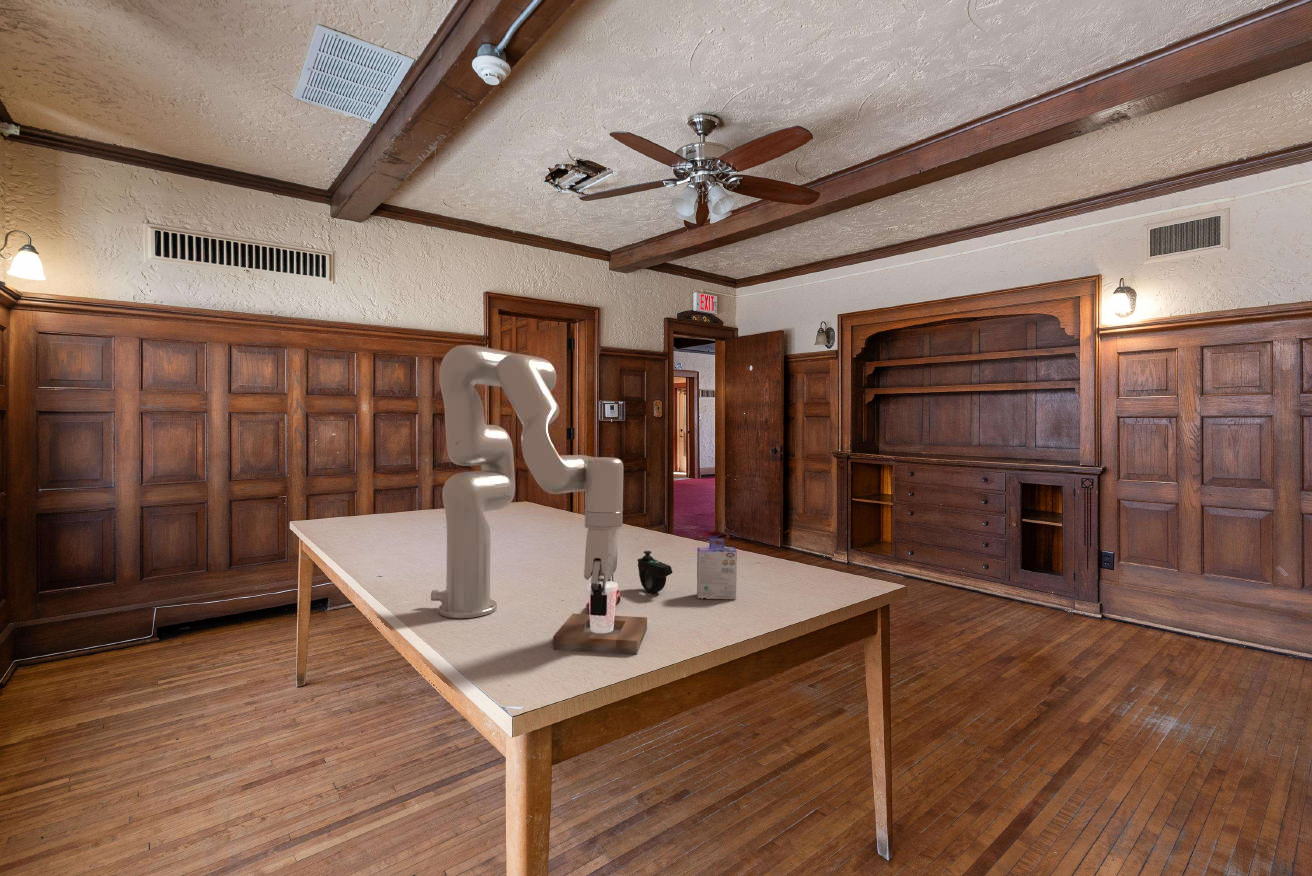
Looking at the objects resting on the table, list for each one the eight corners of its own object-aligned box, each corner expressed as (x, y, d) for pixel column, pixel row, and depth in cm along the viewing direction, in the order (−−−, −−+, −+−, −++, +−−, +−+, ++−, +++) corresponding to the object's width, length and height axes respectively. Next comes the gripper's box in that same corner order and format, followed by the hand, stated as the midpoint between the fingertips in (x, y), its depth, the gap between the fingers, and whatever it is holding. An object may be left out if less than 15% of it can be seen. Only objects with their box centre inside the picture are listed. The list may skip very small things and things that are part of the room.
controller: (648, 586, 157) (649, 548, 157) (674, 597, 146) (675, 557, 146) (634, 588, 155) (635, 550, 154) (659, 599, 144) (660, 559, 144)
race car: (604, 617, 130) (605, 600, 130) (582, 615, 132) (582, 598, 132) (624, 601, 143) (624, 585, 143) (603, 599, 145) (603, 583, 145)
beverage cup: (610, 636, 113) (611, 564, 112) (581, 632, 115) (582, 561, 114) (621, 626, 118) (623, 557, 118) (594, 622, 120) (595, 555, 120)
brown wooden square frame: (553, 649, 110) (553, 636, 110) (572, 625, 124) (572, 613, 124) (636, 654, 109) (637, 640, 109) (647, 629, 122) (647, 617, 122)
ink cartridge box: (734, 594, 150) (735, 537, 150) (737, 600, 145) (738, 541, 145) (696, 593, 150) (697, 537, 150) (697, 599, 145) (698, 541, 145)
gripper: (594, 513, 125) (593, 596, 125) (574, 525, 108) (572, 622, 108) (629, 514, 124) (627, 598, 125) (613, 527, 107) (612, 625, 107)
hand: (602, 609), depth 116 cm, fingers closed on beverage cup, 5 cm apart
